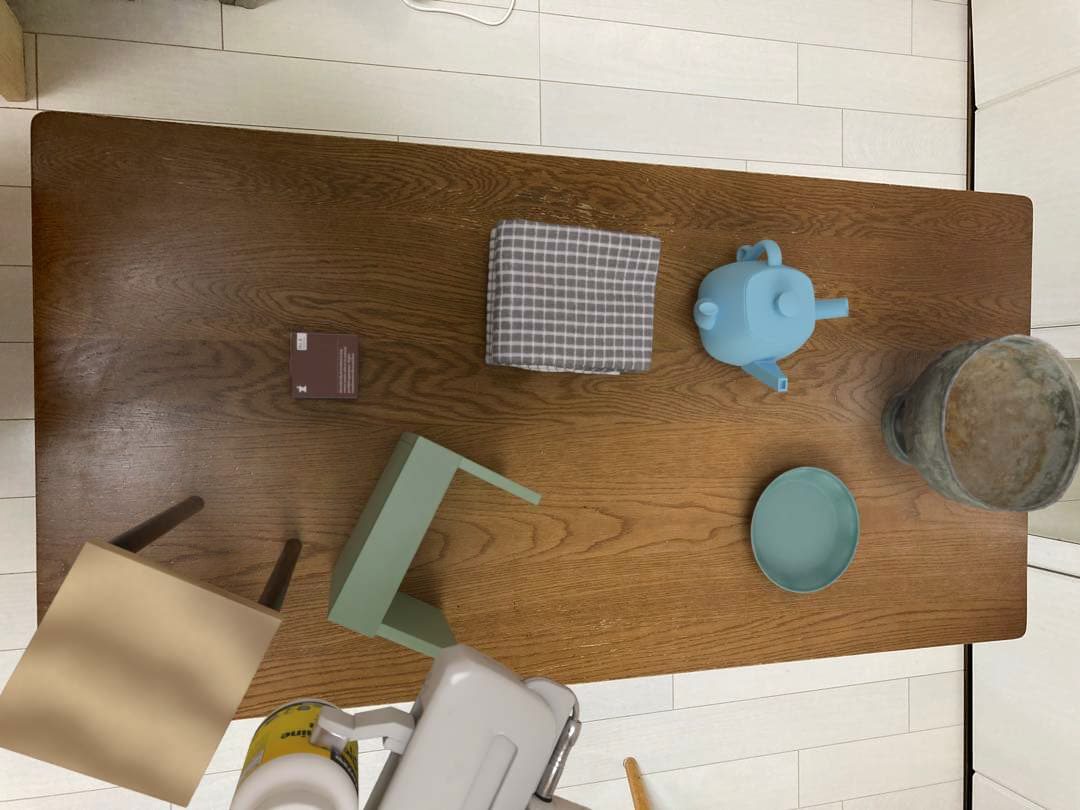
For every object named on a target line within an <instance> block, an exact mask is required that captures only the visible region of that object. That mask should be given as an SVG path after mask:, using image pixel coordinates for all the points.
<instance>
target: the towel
mask: <svg viewBox="0 0 1080 810" xmlns="http://www.w3.org/2000/svg"><path fill="white" fill-rule="evenodd" d="M496 225H497V226H496V227H493V228H491V231H490V234H489V238H490V241H489V244H488V246H489V253H488V266H487V267H488V276H487V279H488V282H487V286H486V287H487V294H486V301H487V303H486V313H487V314H486V328H485V329H486V335H485V336H486V337H485V339H486V346H485V353H486V354H485V357H484V361H485V364H486V365H492V366H503V367H505V366H506V367H514V368H518V369H519V368H521V369H524V370H530V371H539V372H545V373H547V372H548V373H549V372H550V373H551V372H553V373H556V372H557V373H561V372H571V373H577V374H578V373H579V374H597V375H601V374H602V375H612V376H613V375H614V376H620V375H621V373H623V374H624V373H626V374H634V373H636V374H643V373H645V371H649V370H651V367H652V364H651V363H652V359H653V346H654V345H653V342H654V341H653V338H654V323H655V317H654V316H655V300H656V297H655V294H656V289H657V281H658V274H659V268H660V267H659V266H660V260H661V259H660V258H661V249H662V241H661V238H660V237H659V235H654V234H644V233H633V232H629V231H621V230H612V229H602V228H594V227H589V226H584V225H582V226H579V225H575V224H574V225H567V224H558V223H547V222H544V221H536V220H535V221H534V220H527V219H524V218H517V219H508V220H507V219H504V218H502V219H500V218H499V220H498V222H497V224H496Z"/></svg>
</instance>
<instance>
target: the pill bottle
mask: <svg viewBox="0 0 1080 810" xmlns="http://www.w3.org/2000/svg"><path fill="white" fill-rule="evenodd" d="M323 706H330V707H332V708H335V709H338V710H340V711H343V712H345V711H344V710H343V709H341V707H339V706H337V705H336V704H334V703H332V702H330V701H327V700H324V699H321V698H314V697H307V698H299V699H294V700H291V701H289V702H286V703H284V704H282V705H280V706H278V707H277V708H275V709H274V710H272V712H270V713H269V714H268V715H267V716H266V717H265V718H264V719H263V721H261V723H260V724H259V725H258V727H257V728H256V730H255V732H254V734H253V736H252V738H251V740H250V743H249V746H248V749H247V752H246V756H245V758H244V761H243V765H242V768H241V772H240V775H239V778H238V780H237V784H236V786H235V790H234V793H233V796H232V798H231V802H230V805H229V809H228V810H360V791H359V790H360V787H359V778H360V777H359V775H360V774H359V740H357V741H351V742H349V740H348V742H347V744H346V746H345V748H344V750H343V752H342V754H341V756H339V755H336V754H334V753H332V752H330V751H328V750H327V748H326V747H325V748H319V747H315V746H313V745H312V744H310V742H309V737H310V731H311V729H312V727H313V725H314V723H315V721H316V719H317V717H318V715H319V713H320V711H321V709H322V707H323Z"/></svg>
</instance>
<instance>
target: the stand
mask: <svg viewBox="0 0 1080 810" xmlns="http://www.w3.org/2000/svg"><path fill="white" fill-rule="evenodd" d="M284 617H285V613H283V612H282V611H280V612H278V611H276V610H273V609H271V608H268V607H266V606H263V605H261V604H258V602H255V601H253V600H251V599H248V598H245V597H243V596H241V595H238V594H237V593H233V592H232V591H228V590H226V589H223V588H222V587H219V586H216V585H213V584H211V583H209V582H206V581H203V580H201V579H198V578H196V577H193V576H191V575H189V574H186V573H184V572H181V571H180V570H177V569H174V568H173V567H172V568H171V567H169V566H168V565H167V566H166V565H164V564H163V563H159V562H157V561H155V560H151V559H149V558H147V557H144V556H142V555H139V554H137V553H136V554H134V553H132V552H130V551H127V550H125V549H122V548H120V547H117V546H115V545H112V544H110V543H107V541H106V540H102V539H99V538H98V537H93V538H91V539H89V540H87V541H85V543H84V545H83V546H82V547H81V550H80V551H79V553H78V555H77V557H76V558H75V560H74V562H73V564H72V566H71V567H70V569H69V571H68V572H67V574H66V577H65V578H64V580H63V582H62V584H61V585H60V587H59V589H58V591H57V592H56V594H55V596H54V597H53V600H52V602H51V603H50V605H49V607H48V609H47V610H46V612H45V614H44V616H43V617H42V619H41V622H40V623H39V625H38V626H37V629H36V630H35V632H34V634H33V636H32V637H31V639H30V641H29V643H28V645H27V646H26V648H25V650H24V652H23V654H22V655H21V656H20V659H19V661H18V662H17V664H16V666H15V667H14V669H13V671H12V673H11V675H10V676H9V678H8V680H7V682H6V684H5V686H4V687H3V689H2V691H1V693H0V748H1V749H4V750H7V751H10V752H13V753H16V754H19V755H23V756H25V757H28V758H30V759H31V758H32V759H35V760H38V761H40V762H43V763H48V764H50V765H53V766H56V767H60V768H62V769H66V770H69V771H71V772H74V773H78V774H81V775H84V776H86V777H90V778H93V779H96V780H99V781H102V782H105V783H108V784H111V785H114V786H117V787H121V788H123V789H127V790H129V791H132V792H136V793H139V794H143V795H145V796H147V797H150V798H153V799H156V800H160V801H163V802H166V803H170V804H171V805H175V806H178V807H181V808H185V809H186V808H188V807H189V805H190V802H191V801H192V799H193V797H194V795H195V793H196V791H197V789H198V787H199V785H200V783H201V781H202V779H203V777H204V775H205V773H206V771H207V770H208V767H209V765H210V764H211V761H212V760H213V757H214V756H215V754H216V752H217V749H218V748H219V746H220V744H221V742H222V740H223V738H224V736H225V734H226V732H227V730H228V728H229V726H230V724H231V722H233V719H234V717H235V715H236V714H237V711H238V709H239V707H240V705H241V703H242V701H243V700H244V698H245V695H246V694H247V691H248V689H249V688H250V685H251V684H252V683H253V680H254V678H255V675H256V673H257V672H258V670H259V668H260V666H261V664H262V662H263V660H264V658H265V657H266V655H267V653H268V650H269V648H270V647H271V645H272V643H273V641H274V639H275V637H276V635H277V632H278V631H279V629H280V627H281V625H282V623H283V620H284Z"/></svg>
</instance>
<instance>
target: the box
mask: <svg viewBox="0 0 1080 810" xmlns="http://www.w3.org/2000/svg"><path fill="white" fill-rule="evenodd" d="M359 340H360V339H359V335H358V334H352V333H351V334H350V333H326V332H325V333H322V332H321V333H320V332H303V331H302V332H300V331H291V332H290V344H289V345H290V351H289V352H290V354H289V355H290V360H289V397H290V399H294V400H296V401H323V402H324V401H327V402H328V401H329V402H330V401H332V402H334V401H335V402H336V401H337V402H338V401H339V402H340V401H341V402H342V401H344V402H347V401H357V400H358V398H359V383H360V380H359V379H360V378H359V377H360V376H359V374H360V372H359V371H360V344H359Z"/></svg>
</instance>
